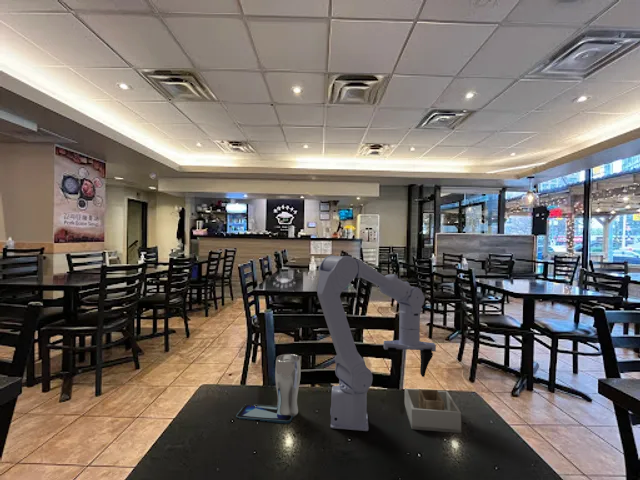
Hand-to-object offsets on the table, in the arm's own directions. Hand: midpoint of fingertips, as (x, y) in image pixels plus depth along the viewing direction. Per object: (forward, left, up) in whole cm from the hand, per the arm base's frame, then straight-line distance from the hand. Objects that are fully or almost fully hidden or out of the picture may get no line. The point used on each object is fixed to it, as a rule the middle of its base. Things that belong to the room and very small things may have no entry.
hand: (408, 374), depth 91 cm
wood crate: (+5, -5, -9) cm, 11 cm away
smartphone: (-39, -9, -10) cm, 42 cm away
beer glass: (-34, -8, -10) cm, 36 cm away
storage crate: (+5, -5, -9) cm, 12 cm away
